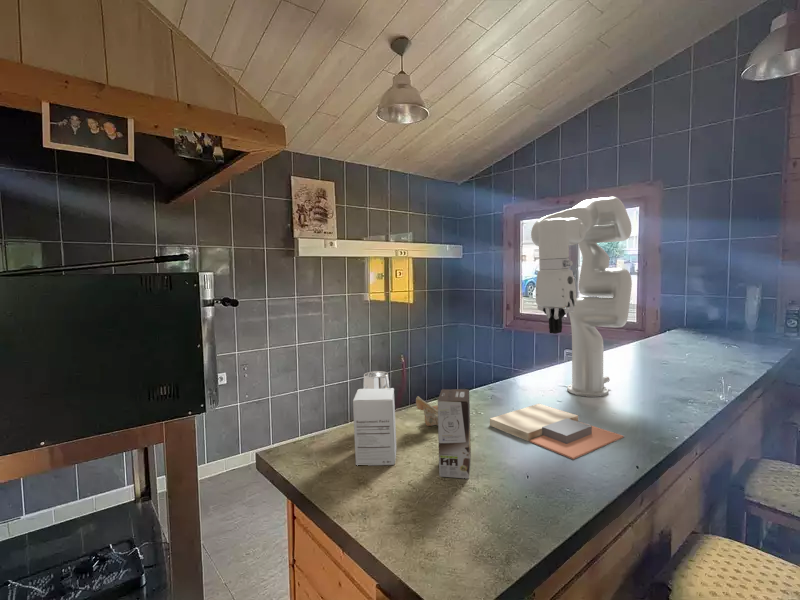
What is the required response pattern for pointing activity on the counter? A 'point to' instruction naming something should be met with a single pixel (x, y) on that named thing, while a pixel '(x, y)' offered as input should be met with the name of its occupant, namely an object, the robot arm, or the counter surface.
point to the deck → (529, 420)
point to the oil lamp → (428, 412)
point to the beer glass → (376, 380)
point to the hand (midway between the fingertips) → (555, 332)
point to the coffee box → (454, 433)
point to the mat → (578, 443)
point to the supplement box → (374, 426)
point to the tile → (566, 430)
